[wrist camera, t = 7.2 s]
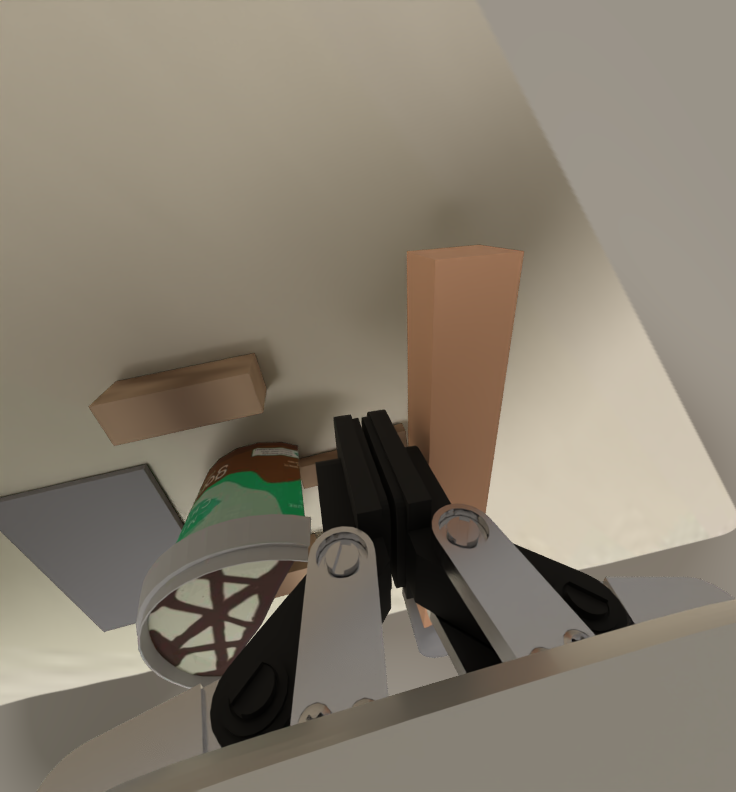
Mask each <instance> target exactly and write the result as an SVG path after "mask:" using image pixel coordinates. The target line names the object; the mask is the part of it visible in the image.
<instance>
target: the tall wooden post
mask: <svg viewBox="0 0 736 792" xmlns="http://www.w3.org/2000/svg"><path fill="white" fill-rule="evenodd" d="M523 255H524V251H519V250H512V249H505V248H498V247H491V246H484V245H471V246H460V247H449V248H438V249H427V250H416V251H407V339H408V447H409V446H414V445H416V446H417V447H418V448H419V449H420V451H421V453H422V454H423V456H424V458H425V460H426V461H427V463H428V465H429V466H430V468H431V470H432V472H433V473H434V475H435V477H436V478H437V480H438V482H439V483H440V485H441V487H442V489H443V490H444V492H445V494H446V495H447V497H448V499H449V501H450V502H451V504H466V505H469V506H473V507H475V508H477V509H479V510H481V511H483V512H484V513H486V506H487V499H488V493H489V486H490V479H491V472H492V466H493V459H494V452H495V445H496V438H497V432H498V425H499V418H500V411H501V405H502V398H503V391H504V384H505V377H506V371H507V364H508V357H509V350H510V344H511V337H512V330H513V323H514V316H515V310H516V303H517V296H518V289H519V283H520V276H521V269H522V262H523ZM402 594H403V597H404V601H405V604H406V608H407V611H408V615H409V618H410V621H411V625H412V628H413V632H414V635H415V639H416V642H417V646H418V649H419V652H420V653H421V654H422V655H424V656H426V657H432V658H436V657H443V656H447V655H448V654H447V652H446V650H445V648H444V646H443V644H442V642H441V640H440V638H439V636H438V634H437V632H436V630H435V629H434V627H433V625H432V623H431V621H430V619H429V616H428V613H427V609H425V608H424V607H422V606H420V605H418V604H417V603H415V601H414V598H411V599H406V596H405V593H404V589H403V590H402Z"/></svg>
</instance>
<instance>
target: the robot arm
mask: <svg viewBox="0 0 736 792" xmlns="http://www.w3.org/2000/svg"><path fill="white" fill-rule="evenodd" d="M334 429H335V438H336V447H337V456H338V458H337V459H331V460H326V461H320V462H315V465H316V474H317V482H318V491H319V499H320V508H321V517H322V525H323V534H322V535H321V536H319V537H318V538H317V539H316V540H315V542H314V543H313V545H312V546H311V549H310V553H309V556H308V565H307V574H306V575H305V576H304V577H303V579H302V580H301V581H300V582H299V583H298V585H297V586H296V587H295V588H294V589H293V591H292V592H291V593H290V594H289V595H288V596H287V598H286V599H285V600H284V601H283V602H282V604H281V605H280V606H279V607H278V608H277V610H276V611H275V612H274V613H273V614H272V615H271V617H270V618H269V619H268V620H267V621H266V623H265V624H264V625H263V626H262V627H261V629H260V630H259V631H258V632H257V633H256V635H255V636H254V637H253V638H252V639H251V640H250V642H249V643H248V644H247V645H246V646H245V648H244V649H243V650H242V651H241V652H240V654H239V655H238V656H237V657H236V658H235V659H234V661H233V662H232V663H231V664H230V665H229V667H228V668H227V670H226V671H225V673H224V674H223V675H222V677H221V678H220V679H219V680H217V681H215V682H213V683H211V684H209V685H207V686H205V687H202V685H201V683H200V684H198V685H196V686H194V687H192V688H190V689H189V690H187V691H185V692H183V693H181V694H179V695H177V696H175V697H173V698H171V699H169V700H167V701H165V702H163V703H161V704H159V705H157V706H156V707H154V708H152V709H150V710H148V711H146V712H144V713H142V714H140V715H138V716H136V717H134V718H133V719H130V720H128V721H126V722H125V723H123V724H121V725H119V726H117V727H115V728H113V729H111V730H109V731H107V732H105V733H103V734H101V735H99V736H97V737H95V738H94V739H91V740H90V741H88V742H86V743H84V744H82V745H81V746H79V747H78V748H76V749H75V750H74V751H72V752H71V753H69V754H68V755H66V756H65V757H64V758H63V759H62V760H61V761H60V762H59V763H58V764H57V765H56V767H54V769H52V771H51V772H50V773H49V774H48V775H47V776H46V777H45V779H44V781H43V782H42V784H41V785H40V787H39V788H38V790H37V791H36V792H736V599H735V598H734V597H733V596H731V595H730V594H729V593H727V592H726V591H724V590H722V589H721V588H719V587H718V586H716V585H714V584H712V583H709V582H707V581H704V580H702V579H698V578H691V577H605V579H604V581H603V582H600V581H598V580H597V579H595V578H593V577H591V576H589V575H587V574H585V573H583V572H580V571H578V570H576V569H573V568H571V567H568V566H566V565H564V564H561V563H559V562H556V561H554V560H552V559H549V558H547V557H544V556H542V555H540V554H537V553H535V552H532V551H530V550H528V549H525V548H523V547H520V546H518V545H516V544H513V543H512V542H511V541H510V540H509V539H508V538H507V536H506V535H505V534H504V533H503V532H502V531H501V530H500V529H499V528H498V526H497V525H496V524H495V523H494V522H493V521H492V520H491V519H490V518H489V517H488V516H487V515H486V514H485V513H484V512H483V511H481V510H479V509H477V508H475V507H473V506H469V505H466V504H451V502H450V501H449V499H448V497H447V495H446V494H445V492H444V490H443V489H442V487H441V485H440V483H439V482H438V480H437V478H436V477H435V475H434V473H433V472H432V470H431V468H430V466H429V465H428V463H427V461H426V460H425V458H424V456H423V454H422V453H421V451H420V449H419V448H418V447H417V446H416V445H414V446H409V447H404V445H403V443H402V441H401V439H400V437H399V435H398V433H397V431H396V429H395V428H394V426H393V424H392V422H391V420H390V418H389V416H388V414H387V412H386V411H385V410H378V411H371V412H368V413H367V417H362V427H361V425H360V422H359V419H358V418H355V419H352V416H351V415H344V416H337V417H334ZM391 574H392V577H393V581H394V584H395V586H396V588H400V587H403V589H404V593H405V596H406V599H411V598H414V601H415V603H417V604H418V605H420V606H422V607H424V608H425V609H427V613H428V616H429V619H430V621H431V623H432V625H433V627H434V629H435V630H436V632H437V634H438V636H439V638H440V640H441V642H442V644H443V646H444V648H445V650H446V652H447V654H448V656H449V657H450V660H451V661H452V663H453V665H454V667H455V669H456V671H457V673H458V675H459V676H456V677H453V678H449V679H446V680H443V681H439V682H436V683H432V684H429V685H426V686H423V687H419V688H416V689H412V690H409V691H406V692H402V693H399V694H395V695H392V696H389V697H388V687H387V675H386V665H385V653H384V642H383V631H382V623H383V622H384V620H385V618H386V616H387V614H388V613H389V611H390V609H391V589H392V577H391Z"/></svg>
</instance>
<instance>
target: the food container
mask: <svg viewBox="0 0 736 792" xmlns="http://www.w3.org/2000/svg"><path fill="white" fill-rule="evenodd" d="M310 531H311V517H305V515H304V505H303V495H302V485H301V475H300V465H299V455H298V446H297V445H292V444H288V443H283V442H264V443H255V444H252V445H248V446H244V447H241V448H237V449H235V450H234V451H232V452H230V453H229V454H227V455H225V456H224V457H222V458H220V459H219V460H218V461H217V462H216V463H215V465H214V466H213V467H212V468H211V469H210V470H209V472H208V474H207V476H206V478H205V480H204V483H203V485H202V487H201V489H200V491H199V493H198V496H197V498H196V500H195V502H194V504H193V507H192V509H191V511H190V513H189V515H188V518H187V520H186V522H185V524H184V526H183V529H182V531H181V533H180V535H179V537H178V539H177V542H176V544H174V545H173V546H171V547H170V548H169V549H168V550H167V551H166V552H164V553H163V554H162V555H161V556H160V557H159V558H158V559H157V560H156V562H155V563H154V564H153V565H152V567H151V568H150V569H149V571H148V573H147V575H146V577H145V579H144V581H143V585H142V590H141V594H140V601H139V607H138V614H137V620H136V629H137V636H138V650H139V652H140V654H141V657H142V659H143V661H144V662H145V663H146V665H147V666H148V667H149V668H150V669H151V670H152V671H153V672H155V673H156V674H157V675H158V676H160V677H162V678H164V679H165V680H167V681H169V682H171V683H173V684H177V685H179V686H182V687H185V688H189V689H190V688H192V687H194V686H196V685H198V684H200V683H201V685H202V687H205V686H207V685H209V684H211V683H213V682H215V681H217V680H219V679H220V678H221V677H222V675H223V674H224V673H225V671H226V670H227V668H228V667H229V665H230V664H231V663H232V662H233V661H234V659H235V658H236V657H237V656H238V655H239V654H240V652H241V651H242V650H243V649H244V648H245V646H246V645H247V643H248V642H249V640H250V639H251V638H252V637H253V635H254V634H255V633H256V631H257V630H258V629H259V627H260V626H261V624H262V623H263V621H264V619H265V617H266V614H267V612H268V610H269V608H270V606H271V604H272V602H273V600H274V598H275V596H276V594H277V592H278V590H279V588H280V586H281V584H282V582H283V581H284V579H285V577H286V575H287V574H288V572H289V570H290V568H291V567H292V565H293V563H294V561H301V562H308V547H309V546H310Z"/></svg>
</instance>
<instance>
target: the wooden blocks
mask: <svg viewBox="0 0 736 792" xmlns="http://www.w3.org/2000/svg"><path fill="white" fill-rule="evenodd" d="M266 390H267V389H266V386H265V383H264V380H263V377H262V374H261V371H260V368H259V365H258V362H257V359H256V356H255V353H253V354H248V355H243V356H238V357H233V358H228V359H223V360H218V361H213V362H209V363H204V364H199V365H194V366H189V367H184V368H179V369H174V370H169V371H164V372H159V373H155V374H150V375H145V376H140V377H135V378H130V379H125V380H120V381H116V382H115V383H114V384H112V385H111V386H110V387H109V388H108V389H107V390H106V391H105V392H104V393H103V394H102V395H101V396H99V397H98V398H97V399H96V400H95V401H94V402H93V403H92V404H91V405H90V406H89V408H90V410H91V412H92V413H93V415H94V416H95V418H96V419H97V421H98V422H99V424H100V425H101V427H102V428H103V430H104V431H105V433H106V434H107V436H108V438H109V439H110V441H111V442H112V444H113V445H114V446H116V445H121V444H125V443H130V442H134V441H139V440H143V439H148V438H152V437H157V436H161V435H166V434H170V433H175V432H179V431H184V430H188V429H193V428H197V427H202V426H206V425H211V424H215V423H220V422H224V421H229V420H233V419H238V418H242V417H247V416H251V415H256V414H260V413H263V409H264V403H265V397H266ZM393 426H394V428H395V429H396V431H397V433H398V435H399V437H400V439H401V441H402V443H403V445H404V447H407V440H406V431H405V429H404V427H403V425H402V423H401V424H396V425H393ZM337 458H338V456H337V450H334V451H330V452H326V453H322V454H318V455H313V456H309V457H305V458H301V459H299V465H300V475H301V480H302V483H303V486H304V489H305V488H309V487H313V486H318V482H317V474H316V465H315V462H320V461H326V460H331V459H337ZM316 539H317V538H316V535H315V533H314V534H311V535H310V546H309V547H308V556H309V553H310V549H311V546H312V545H313V543H314V542H315V540H316ZM307 565H308V562H301V561H294V563H293V565H292V567H291V568H290V570H289V572H288V574H287V575H286V577H285V579H284V581H283V582H282V584H281V586H280V588H279V590H278V592H277V594H276V596H275V598H277V597H280V596H284V595H287V594H290V593H291V592H292V591H293V589H294V588H295V587H296V586H297V585H298V583H299V582H300V581H301V580H302V579H303V577H304V576H305V575H306V574H307Z"/></svg>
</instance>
